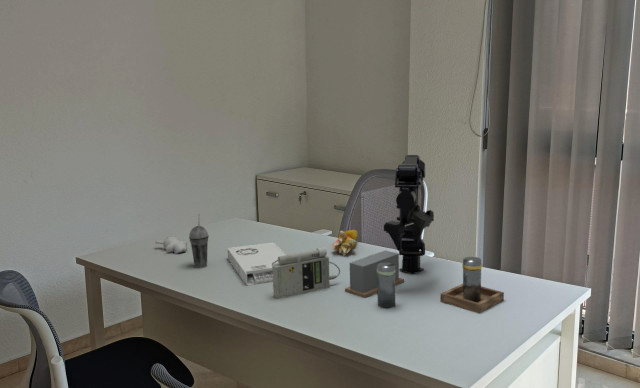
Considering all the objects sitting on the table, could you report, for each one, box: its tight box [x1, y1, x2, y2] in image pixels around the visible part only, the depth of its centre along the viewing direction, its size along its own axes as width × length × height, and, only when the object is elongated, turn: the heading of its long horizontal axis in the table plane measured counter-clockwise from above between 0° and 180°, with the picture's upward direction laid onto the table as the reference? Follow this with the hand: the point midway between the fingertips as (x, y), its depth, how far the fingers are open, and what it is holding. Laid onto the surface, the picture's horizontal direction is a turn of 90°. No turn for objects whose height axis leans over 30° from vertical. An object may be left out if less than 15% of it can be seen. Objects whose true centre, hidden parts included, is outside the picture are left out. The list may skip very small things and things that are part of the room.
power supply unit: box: [227, 242, 287, 287], centre depth 243 cm, size 19×33×5 cm, turn 19°
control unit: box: [344, 250, 405, 299], centre depth 219 cm, size 20×9×10 cm, turn 134°
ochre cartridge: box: [462, 256, 483, 302], centre depth 204 cm, size 6×6×13 cm
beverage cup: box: [188, 214, 209, 269], centre depth 245 cm, size 7×7×20 cm
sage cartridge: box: [377, 262, 396, 309], centre depth 203 cm, size 6×6×13 cm
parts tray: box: [439, 283, 505, 314], centre depth 205 cm, size 14×14×3 cm
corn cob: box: [331, 229, 358, 257], centre depth 264 cm, size 8×8×25 cm
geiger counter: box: [272, 246, 341, 299], centre depth 218 cm, size 14×6×25 cm
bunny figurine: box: [155, 236, 188, 255], centre depth 268 cm, size 10×5×15 cm
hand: (408, 247), depth 218 cm, fingers open, 9 cm apart
